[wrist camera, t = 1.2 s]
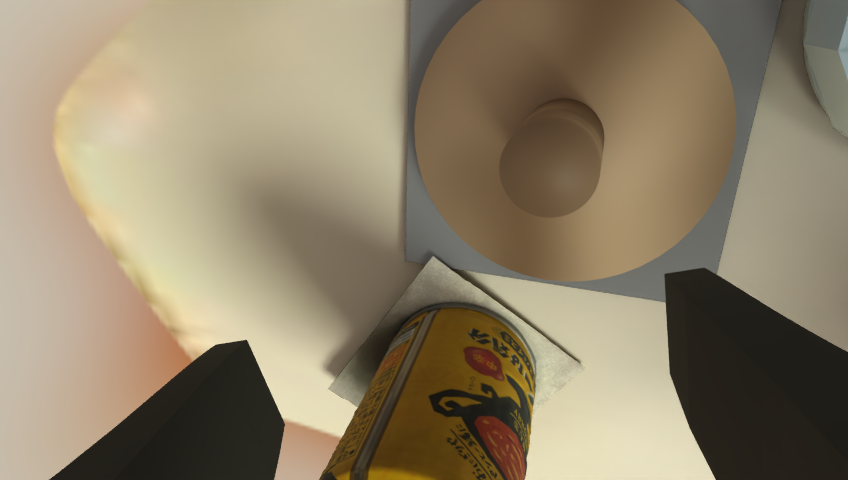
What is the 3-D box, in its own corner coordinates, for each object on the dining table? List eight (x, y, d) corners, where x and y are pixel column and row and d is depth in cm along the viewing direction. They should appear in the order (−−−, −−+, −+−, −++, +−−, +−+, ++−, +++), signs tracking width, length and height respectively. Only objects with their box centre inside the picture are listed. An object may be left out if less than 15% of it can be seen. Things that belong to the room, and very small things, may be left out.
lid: (768, -27, 17) (818, -38, 12) (695, 293, 20) (714, 369, 16) (425, -34, 19) (369, -44, 15) (417, 250, 23) (370, 306, 19)
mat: (789, -46, 17) (793, -47, 16) (706, 303, 21) (708, 308, 20) (415, -50, 19) (411, -51, 19) (408, 257, 24) (404, 260, 23)
